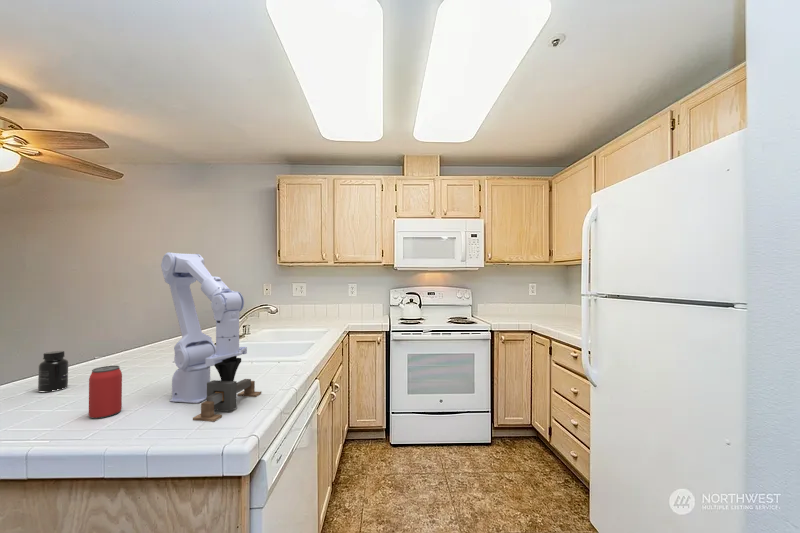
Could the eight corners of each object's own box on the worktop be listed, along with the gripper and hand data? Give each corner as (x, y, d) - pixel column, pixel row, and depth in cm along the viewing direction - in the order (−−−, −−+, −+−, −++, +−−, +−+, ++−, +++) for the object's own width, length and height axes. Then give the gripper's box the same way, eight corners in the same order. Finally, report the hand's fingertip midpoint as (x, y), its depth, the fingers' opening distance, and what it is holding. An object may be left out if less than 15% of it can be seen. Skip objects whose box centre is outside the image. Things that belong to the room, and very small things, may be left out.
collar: (206, 409, 91) (206, 382, 92) (213, 406, 94) (213, 380, 94) (230, 411, 90) (230, 384, 90) (236, 407, 93) (236, 381, 93)
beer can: (94, 421, 86) (94, 372, 86) (84, 416, 89) (85, 369, 90) (125, 412, 92) (126, 366, 92) (115, 407, 95) (116, 363, 95)
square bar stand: (192, 420, 86) (192, 399, 86) (243, 392, 106) (243, 375, 106) (214, 421, 85) (214, 400, 85) (261, 393, 105) (261, 376, 105)
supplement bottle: (71, 388, 113) (71, 351, 113) (41, 394, 107) (42, 355, 107) (64, 385, 116) (64, 349, 117) (35, 390, 111) (36, 353, 111)
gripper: (223, 341, 87) (223, 395, 87) (256, 332, 101) (256, 378, 101) (198, 340, 88) (198, 394, 88) (234, 331, 103) (234, 377, 102)
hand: (227, 386), depth 94 cm, fingers closed
